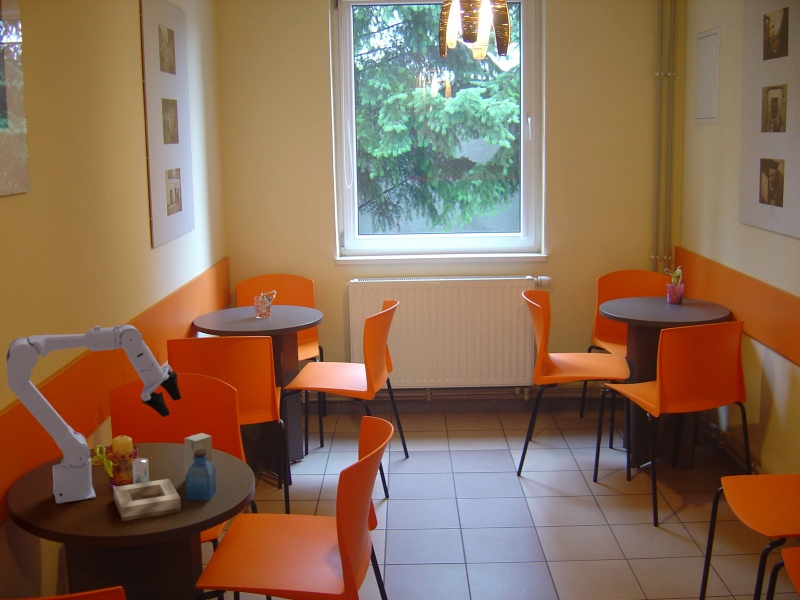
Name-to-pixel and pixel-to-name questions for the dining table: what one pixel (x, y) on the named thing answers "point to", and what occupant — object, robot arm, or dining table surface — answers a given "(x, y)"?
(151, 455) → the dining table surface
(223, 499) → the dining table surface
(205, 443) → the skincare box
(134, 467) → the metal pin
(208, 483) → the perfume bottle
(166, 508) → the socket block
